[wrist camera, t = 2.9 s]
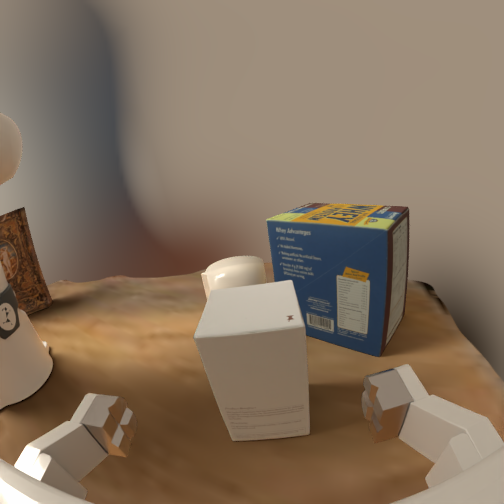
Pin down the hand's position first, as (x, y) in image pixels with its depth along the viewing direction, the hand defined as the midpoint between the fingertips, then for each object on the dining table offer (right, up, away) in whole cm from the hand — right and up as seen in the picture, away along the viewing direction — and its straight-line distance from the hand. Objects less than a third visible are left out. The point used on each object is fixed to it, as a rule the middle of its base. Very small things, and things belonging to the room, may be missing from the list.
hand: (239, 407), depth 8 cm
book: (-57, -10, +45) cm, 74 cm away
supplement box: (+2, -11, +17) cm, 20 cm away
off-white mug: (-1, -5, +34) cm, 34 cm away
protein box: (+13, -5, +29) cm, 32 cm away
